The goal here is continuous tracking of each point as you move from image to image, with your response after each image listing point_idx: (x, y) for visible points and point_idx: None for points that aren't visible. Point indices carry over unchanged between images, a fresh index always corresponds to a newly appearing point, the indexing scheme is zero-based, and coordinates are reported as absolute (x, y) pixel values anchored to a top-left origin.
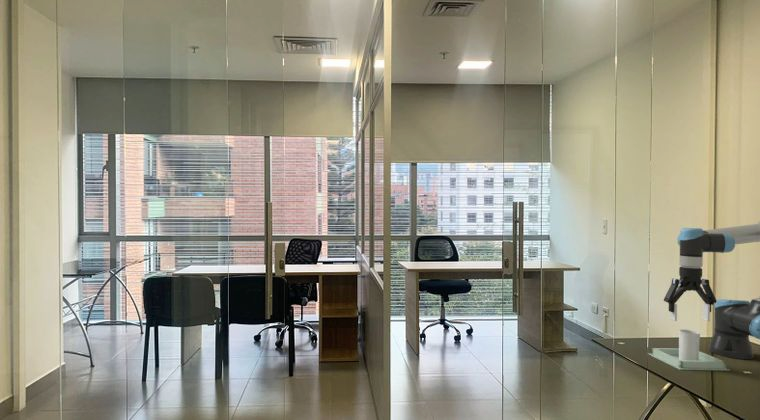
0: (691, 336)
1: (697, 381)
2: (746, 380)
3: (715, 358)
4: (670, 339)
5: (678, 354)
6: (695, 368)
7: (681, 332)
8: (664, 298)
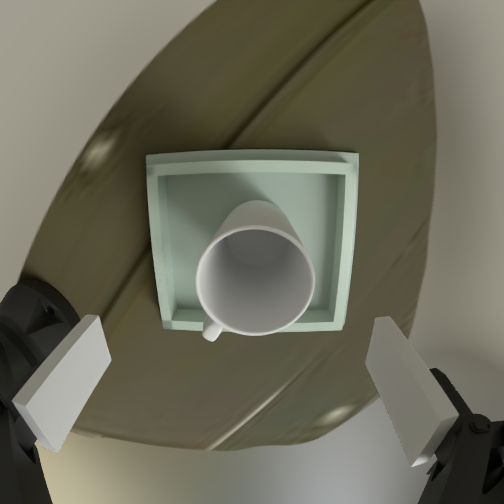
0: (281, 228)
1: (374, 49)
2: (173, 59)
3: (156, 209)
4: (147, 435)
5: None
6: (289, 155)
7: (313, 281)
8: (502, 466)
